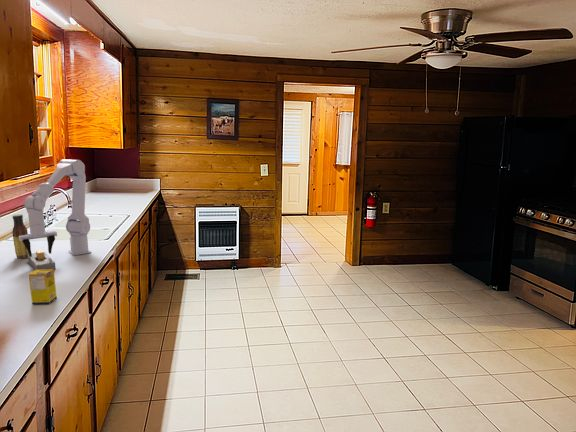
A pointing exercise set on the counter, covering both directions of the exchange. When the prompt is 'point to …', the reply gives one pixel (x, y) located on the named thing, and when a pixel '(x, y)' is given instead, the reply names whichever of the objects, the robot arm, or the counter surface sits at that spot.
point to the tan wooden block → (40, 255)
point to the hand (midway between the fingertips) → (40, 254)
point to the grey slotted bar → (41, 262)
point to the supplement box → (42, 286)
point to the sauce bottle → (19, 231)
